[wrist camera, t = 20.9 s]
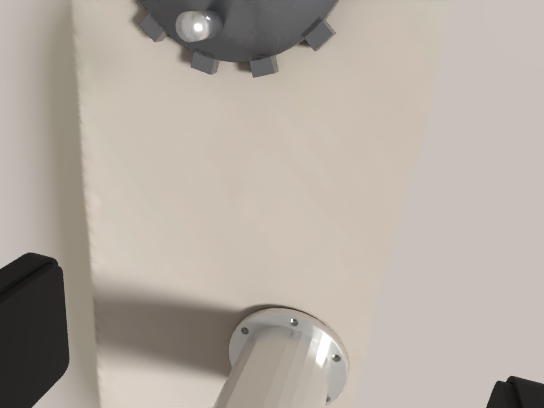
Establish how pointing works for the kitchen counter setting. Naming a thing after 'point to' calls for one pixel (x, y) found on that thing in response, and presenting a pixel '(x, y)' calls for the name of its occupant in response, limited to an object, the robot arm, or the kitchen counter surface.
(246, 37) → the sprocket wheel
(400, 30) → the kitchen counter surface
